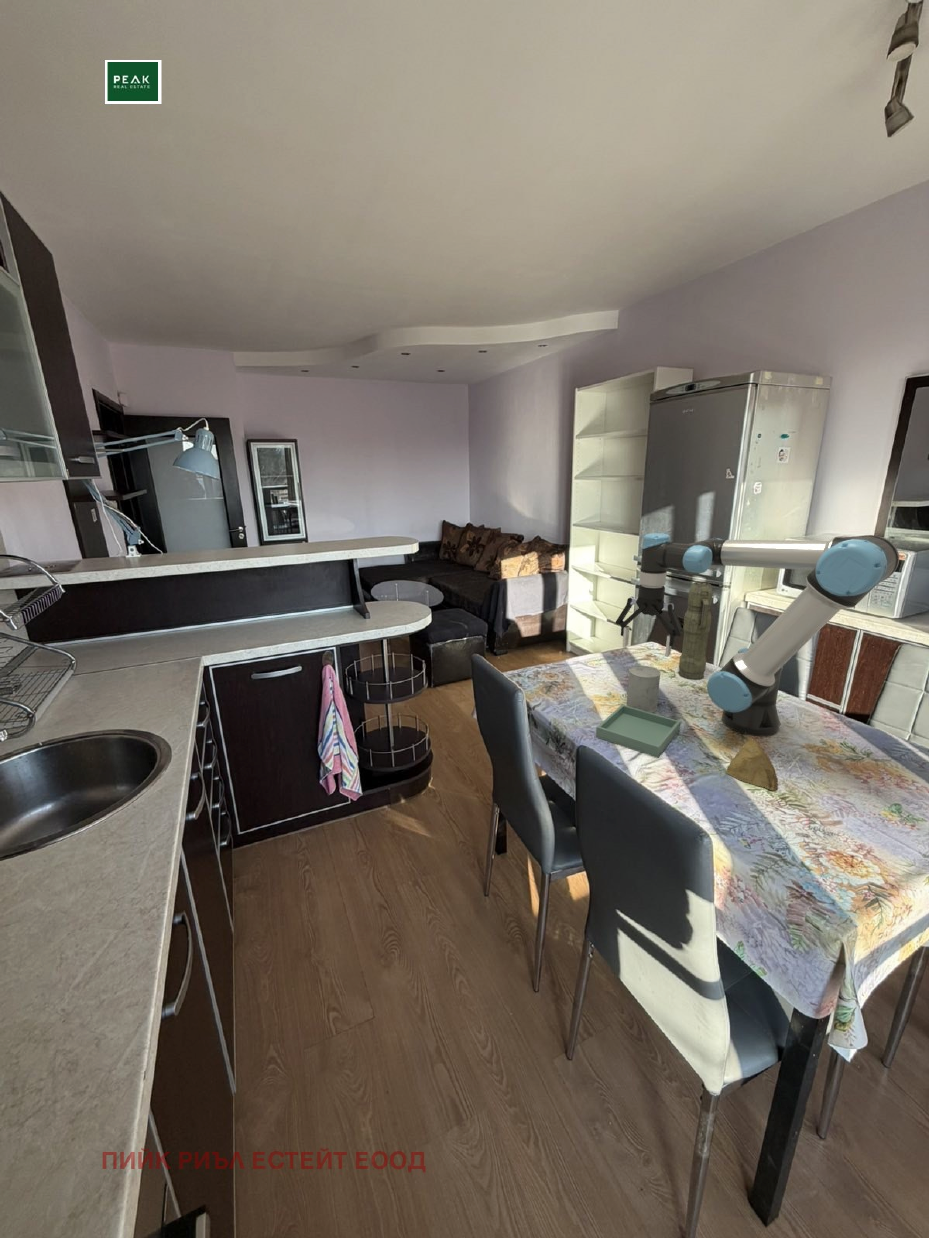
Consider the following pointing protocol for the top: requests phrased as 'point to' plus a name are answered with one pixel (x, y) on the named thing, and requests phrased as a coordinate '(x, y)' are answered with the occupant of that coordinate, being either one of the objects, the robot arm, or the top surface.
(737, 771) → the rock
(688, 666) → the thermos
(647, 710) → the speckled white canister
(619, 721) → the tray
